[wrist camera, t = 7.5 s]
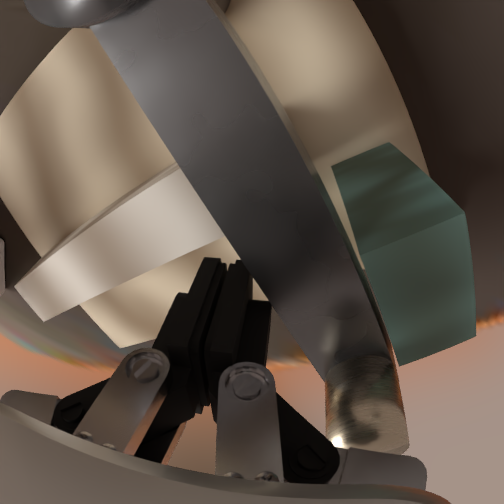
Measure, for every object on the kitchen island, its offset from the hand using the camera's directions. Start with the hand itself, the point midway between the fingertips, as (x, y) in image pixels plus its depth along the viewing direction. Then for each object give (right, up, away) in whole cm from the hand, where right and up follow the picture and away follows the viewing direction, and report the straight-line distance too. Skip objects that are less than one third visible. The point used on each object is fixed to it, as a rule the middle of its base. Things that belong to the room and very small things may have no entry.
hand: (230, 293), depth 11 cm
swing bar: (+1, +4, -2) cm, 5 cm away
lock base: (-4, +6, +5) cm, 9 cm away
